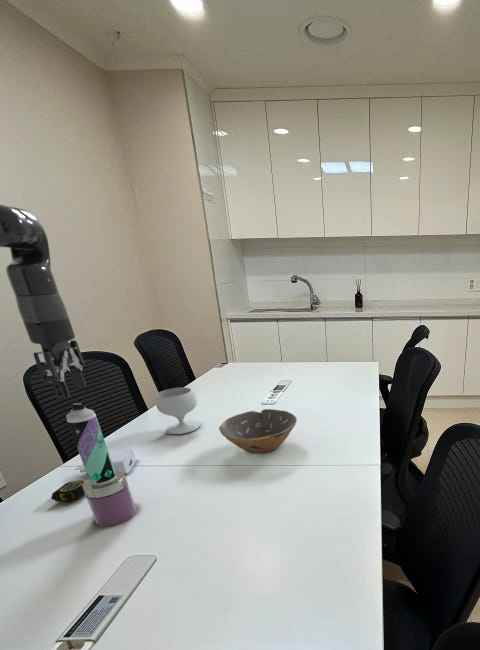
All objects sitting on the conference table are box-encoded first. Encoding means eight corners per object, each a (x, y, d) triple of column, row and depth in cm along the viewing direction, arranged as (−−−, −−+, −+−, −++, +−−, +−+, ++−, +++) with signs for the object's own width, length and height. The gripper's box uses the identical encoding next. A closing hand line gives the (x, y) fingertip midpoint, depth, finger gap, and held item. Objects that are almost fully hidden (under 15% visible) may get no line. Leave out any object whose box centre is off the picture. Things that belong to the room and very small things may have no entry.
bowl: (238, 474, 117) (233, 445, 113) (215, 446, 135) (209, 420, 131) (312, 451, 130) (310, 423, 126) (282, 428, 148) (279, 403, 144)
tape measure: (72, 490, 111) (67, 479, 110) (95, 490, 111) (91, 479, 109) (53, 504, 105) (48, 492, 103) (78, 504, 105) (73, 492, 103)
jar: (90, 529, 95) (76, 494, 90) (103, 508, 102) (91, 475, 98) (130, 522, 97) (118, 488, 92) (140, 502, 105) (130, 470, 100)
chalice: (189, 437, 143) (180, 398, 137) (155, 435, 145) (144, 397, 139) (209, 422, 156) (201, 386, 150) (178, 421, 158) (169, 386, 152)
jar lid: (79, 500, 91) (75, 492, 90) (93, 482, 99) (90, 473, 98) (120, 494, 93) (117, 486, 92) (131, 476, 101) (128, 468, 100)
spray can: (88, 480, 95) (59, 403, 87) (113, 472, 99) (88, 397, 90) (93, 488, 92) (63, 409, 83) (119, 479, 95) (93, 403, 87)
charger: (84, 467, 124) (136, 461, 127) (72, 482, 115) (127, 475, 118) (80, 454, 122) (132, 448, 125) (66, 468, 113) (122, 461, 117)
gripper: (42, 314, 85) (67, 385, 92) (4, 323, 72) (37, 405, 79) (80, 312, 87) (103, 382, 93) (50, 321, 74) (78, 401, 81)
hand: (72, 392), depth 86 cm, fingers open, 8 cm apart
